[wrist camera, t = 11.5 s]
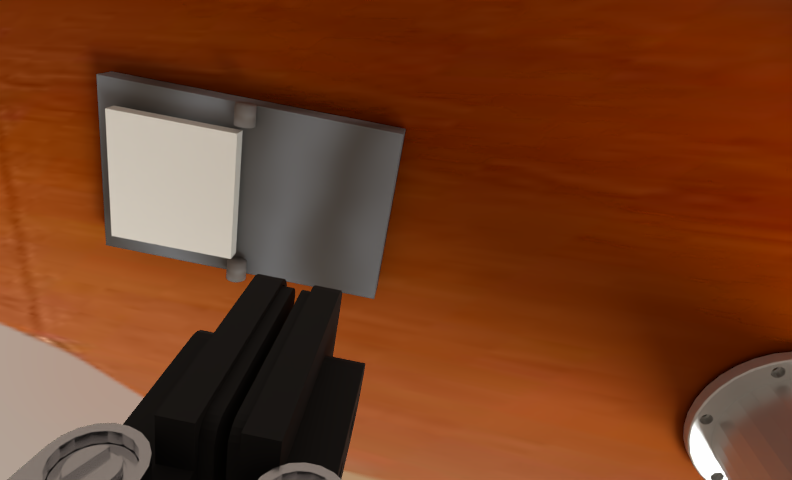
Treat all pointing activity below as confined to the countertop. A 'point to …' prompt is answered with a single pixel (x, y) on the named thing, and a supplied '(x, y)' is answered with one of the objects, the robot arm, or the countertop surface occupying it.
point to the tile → (173, 181)
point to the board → (282, 184)
